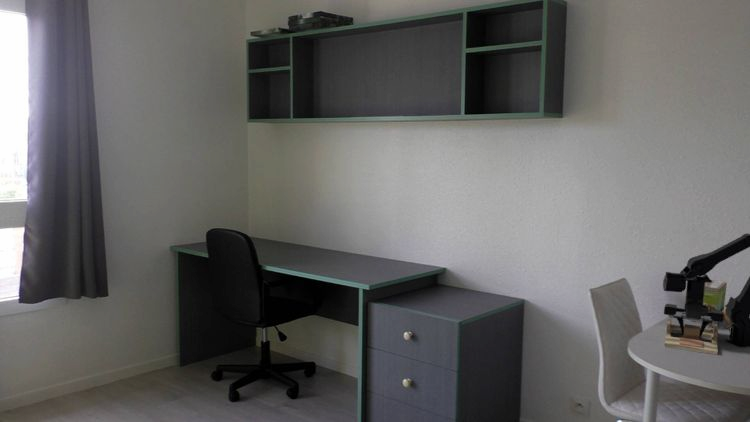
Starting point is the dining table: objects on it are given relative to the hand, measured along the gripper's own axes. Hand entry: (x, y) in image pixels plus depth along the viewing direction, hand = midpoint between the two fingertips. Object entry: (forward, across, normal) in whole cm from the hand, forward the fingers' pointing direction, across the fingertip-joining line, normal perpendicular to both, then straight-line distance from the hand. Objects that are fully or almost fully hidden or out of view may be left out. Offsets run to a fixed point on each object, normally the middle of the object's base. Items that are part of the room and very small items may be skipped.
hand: (691, 336), depth 228 cm
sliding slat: (-4, 0, +10) cm, 11 cm away
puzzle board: (+1, 0, -1) cm, 2 cm away
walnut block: (+1, 0, 0) cm, 1 cm away
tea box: (+1, +5, +32) cm, 32 cm away
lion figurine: (+1, +9, +21) cm, 23 cm away
